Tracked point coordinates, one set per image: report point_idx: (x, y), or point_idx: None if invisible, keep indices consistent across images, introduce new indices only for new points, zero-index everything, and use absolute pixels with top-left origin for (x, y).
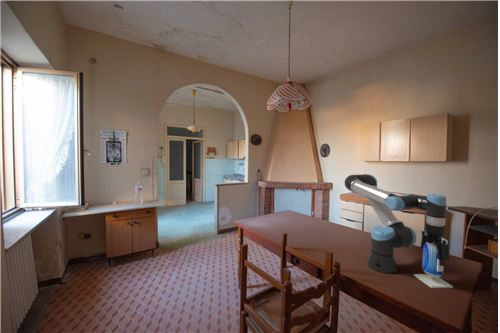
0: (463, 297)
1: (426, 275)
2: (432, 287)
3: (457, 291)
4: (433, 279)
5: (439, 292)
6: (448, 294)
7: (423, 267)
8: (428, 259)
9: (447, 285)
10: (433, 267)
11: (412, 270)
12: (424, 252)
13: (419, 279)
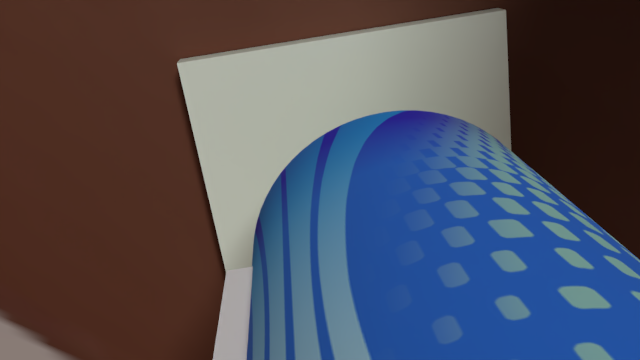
0: (57, 315)
1: None
2: (184, 76)
3: (174, 329)
4: None
5: (94, 103)
6: (76, 189)
7: (431, 122)
8: (363, 255)
9: None
10: (272, 247)
11: (637, 77)
12: (588, 312)
13: (389, 25)
